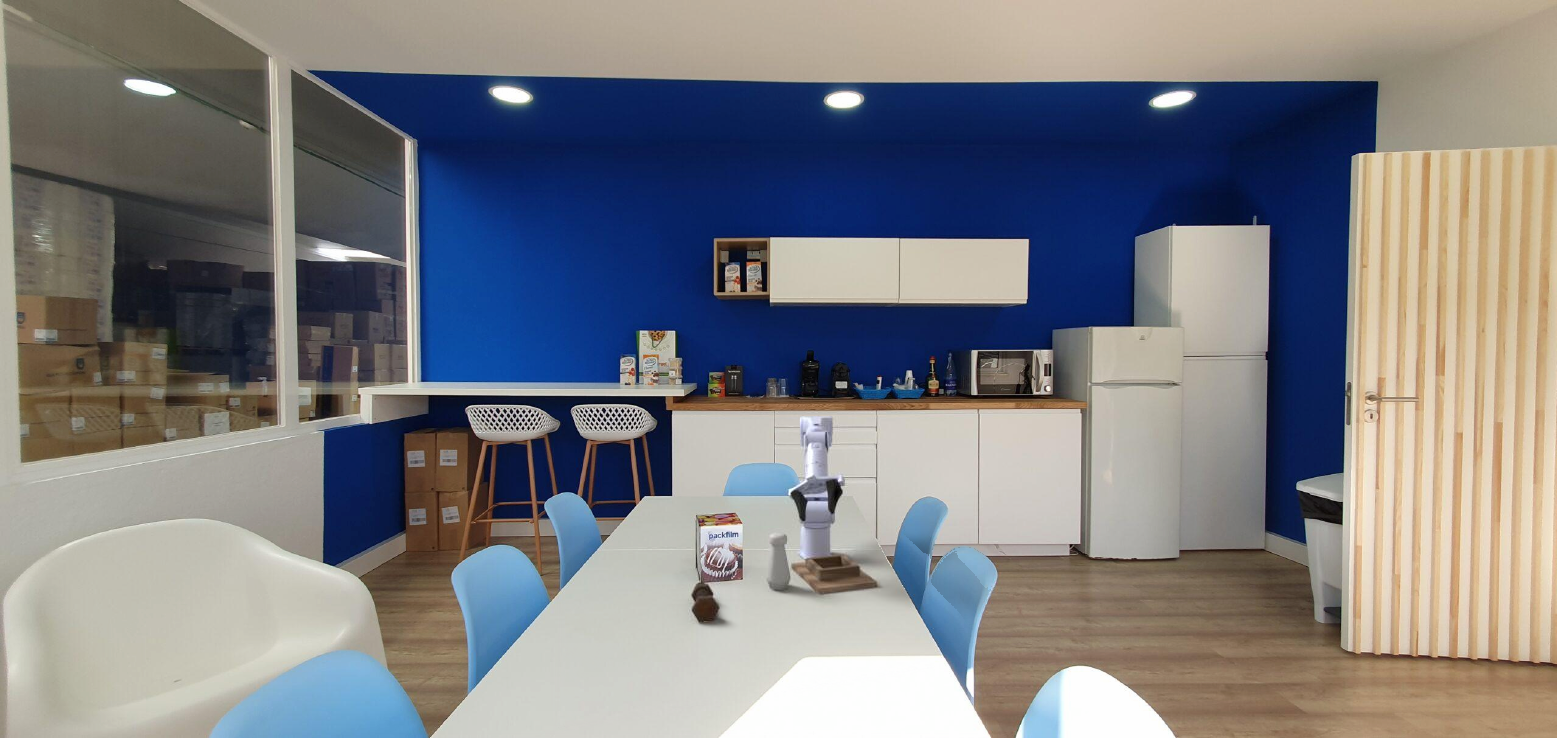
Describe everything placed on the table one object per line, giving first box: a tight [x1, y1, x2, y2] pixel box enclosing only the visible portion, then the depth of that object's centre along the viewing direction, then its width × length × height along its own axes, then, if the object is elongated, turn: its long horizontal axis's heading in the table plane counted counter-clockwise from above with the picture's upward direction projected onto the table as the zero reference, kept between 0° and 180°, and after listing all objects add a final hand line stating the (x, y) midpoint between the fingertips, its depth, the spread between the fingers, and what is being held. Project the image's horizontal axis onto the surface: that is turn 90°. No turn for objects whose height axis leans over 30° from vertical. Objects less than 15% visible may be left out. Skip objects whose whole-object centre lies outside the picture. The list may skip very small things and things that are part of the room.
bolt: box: [690, 582, 720, 623], centre depth 152 cm, size 6×5×15 cm
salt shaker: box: [765, 532, 792, 591], centre depth 164 cm, size 6×6×13 cm
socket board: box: [790, 554, 878, 595], centre depth 172 cm, size 20×15×4 cm
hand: (816, 515), depth 164 cm, fingers open, 7 cm apart
